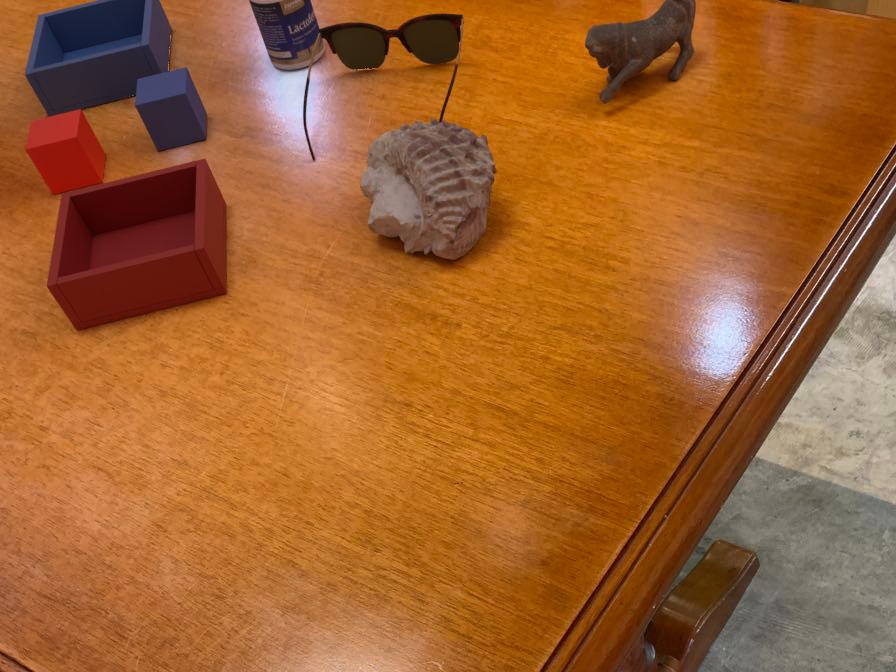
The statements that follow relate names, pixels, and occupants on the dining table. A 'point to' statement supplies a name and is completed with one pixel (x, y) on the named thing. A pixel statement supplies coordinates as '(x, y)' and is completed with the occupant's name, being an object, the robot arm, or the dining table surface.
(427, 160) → the seashell
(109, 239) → the maroon bin
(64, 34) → the blue bin
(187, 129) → the blue block
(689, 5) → the dog figurine
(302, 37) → the pill bottle
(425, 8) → the dining table surface
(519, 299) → the dining table surface
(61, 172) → the red block
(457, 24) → the sunglasses
